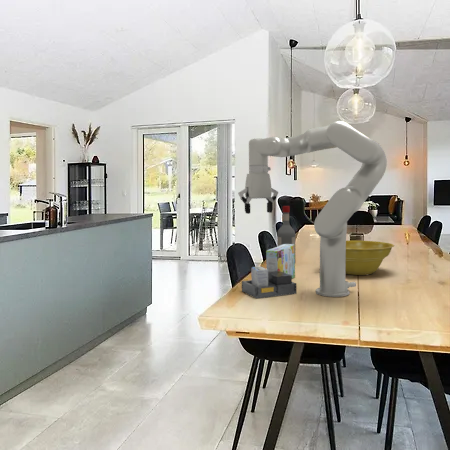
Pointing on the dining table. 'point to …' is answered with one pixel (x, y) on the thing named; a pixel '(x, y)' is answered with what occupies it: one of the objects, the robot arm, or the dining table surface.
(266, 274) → the medicine box
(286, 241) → the liquor
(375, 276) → the dining table surface
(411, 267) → the dining table surface
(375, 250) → the planter bowl
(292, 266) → the snack box
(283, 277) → the rack
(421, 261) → the dining table surface
